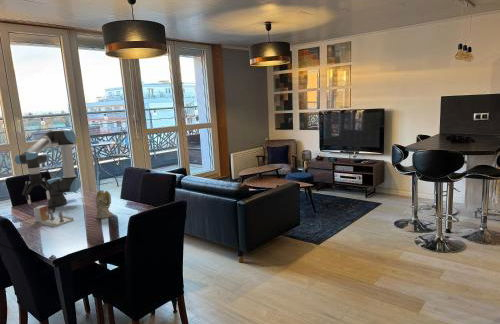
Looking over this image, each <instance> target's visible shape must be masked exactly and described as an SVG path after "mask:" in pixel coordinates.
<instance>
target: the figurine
mask: <svg viewBox="0 0 500 324" xmlns="http://www.w3.org/2000/svg"><path fill="white" fill-rule="evenodd" d="M95 202H96V209H97V211H96V212H97V213H96V220H104V219H108V218H111V217H113V213H112V212H110V210H109V209H110V207H111V204H112V195H111V193H110V192H109V191H108V190H105V191H104V190H98V191H97V192H96V196H95Z"/></svg>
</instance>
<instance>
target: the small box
mask: <svg viewBox="0 0 500 324" xmlns="http://www.w3.org/2000/svg"><path fill="white" fill-rule="evenodd" d="M33 216H34V219H35V222H36V223H41V222H40V221H41V220H43V221H45V220H49V219H51V217H50V211H49V207H48V205H47V204H46V205H45V204H44V205H43V204H42V205H39V206H37V207H34V208H33Z"/></svg>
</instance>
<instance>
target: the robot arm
mask: <svg viewBox="0 0 500 324" xmlns="http://www.w3.org/2000/svg"><path fill="white" fill-rule="evenodd" d="M76 141H77V136H76V133H75V132H74V130H73V129H69V128H64V129H63V128H62V129H53V130H49V131H47V132H46V133H44V134H42V135H41V136H40V137H39V139H38V140H37V141H36V142H35V143H34V144H32V145H31V146H30V147H29V148H27V150H25V151H24V152H22V153H21V154H16V155H15V157H14V162H15V163H16V164H17V165H27V172H28V177H29V181H27V180H26V181H25V182H24V187H23V190H22V193H21V195H22V196H25V200H26V201H27V204H28V205H31V204H32V200H31V195H30V193H31V191H32V190H33V188H35V187H37V186H41V187H42V188H43V189H45V194H46V199H47V203H46V205H48V208H54V207H55V208H56V207H60V206H64V205H66V204H68V200H67V198H66V196H65V194H64V193H73V192H74V193H75V192H77V191H79V189H80V188H81V180H80V179H81V178H78V175H76V173H75V164H74V155H73V153H74V152H73V146H74V143H76ZM55 144H57V146H58V147H59V148H60V155H61V163H62V173H63V174H62V175H63V176H62V177H58V176H57V177H53V178H50V179H47V178H46V177H43V178H42V173H41V172H42V171H41V166H40V164H44V163H47V162H49V160H50V155H49V154H48V153H47V152H42V151H44V150H45V149H46V148H47V147H50V146H51V145H55ZM43 182H44V183H43Z"/></svg>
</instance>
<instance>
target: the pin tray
mask: <svg viewBox="0 0 500 324" xmlns="http://www.w3.org/2000/svg"><path fill="white" fill-rule="evenodd" d="M48 211H49V217H50V219H47V220H45V221H43V220H41V221H40V222H39V223H40V224H41V225H46V226H50V227H53V228H55V227H58V226H62V225H64V224H67V223H70V222H73V221H74V217H73V216H66V215H63V211H59V212H58V215H57V216H55V217H54V211H53V209H48Z"/></svg>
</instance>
